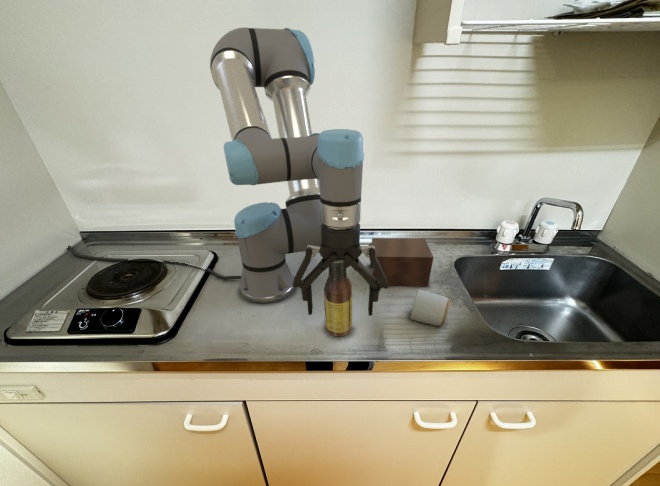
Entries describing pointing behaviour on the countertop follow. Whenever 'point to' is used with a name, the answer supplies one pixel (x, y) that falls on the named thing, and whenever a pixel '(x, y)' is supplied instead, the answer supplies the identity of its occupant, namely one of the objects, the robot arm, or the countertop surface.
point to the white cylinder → (430, 308)
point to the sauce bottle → (338, 300)
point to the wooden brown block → (404, 260)
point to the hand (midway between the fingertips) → (340, 311)
